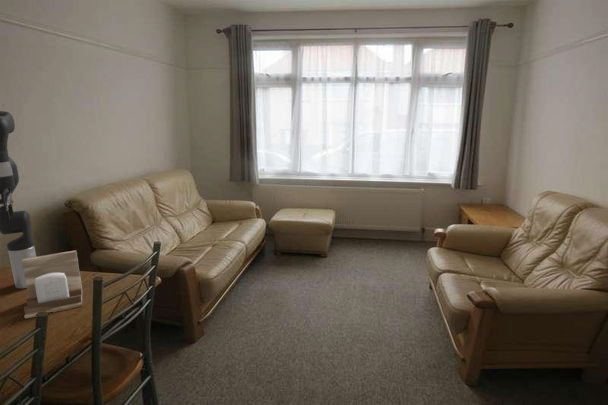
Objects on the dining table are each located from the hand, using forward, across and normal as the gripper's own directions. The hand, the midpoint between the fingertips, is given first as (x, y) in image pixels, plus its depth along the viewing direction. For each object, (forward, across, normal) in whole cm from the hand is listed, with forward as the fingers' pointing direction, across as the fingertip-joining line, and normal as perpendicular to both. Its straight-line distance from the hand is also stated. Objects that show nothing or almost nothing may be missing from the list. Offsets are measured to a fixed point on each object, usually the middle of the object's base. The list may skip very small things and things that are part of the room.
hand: (8, 218), depth 134 cm
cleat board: (+36, +2, +10) cm, 37 cm away
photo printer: (+35, +4, +10) cm, 37 cm away
